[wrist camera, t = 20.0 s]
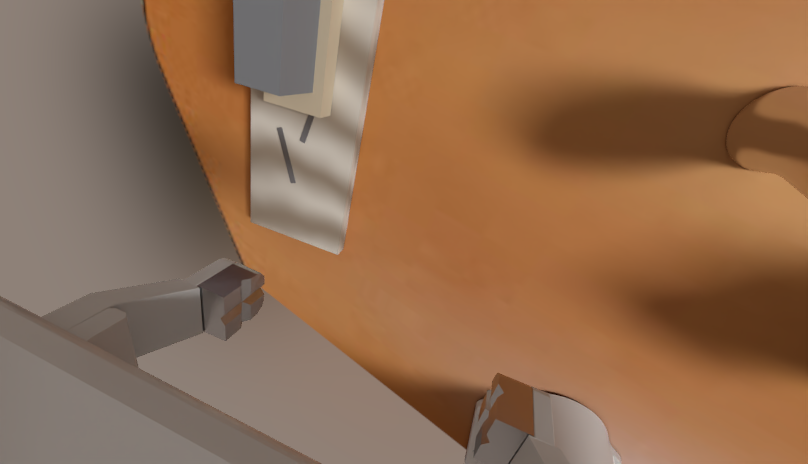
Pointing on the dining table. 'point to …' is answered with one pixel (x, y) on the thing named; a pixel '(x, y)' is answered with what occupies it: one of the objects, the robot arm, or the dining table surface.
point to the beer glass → (774, 136)
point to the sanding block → (288, 51)
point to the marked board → (316, 144)
